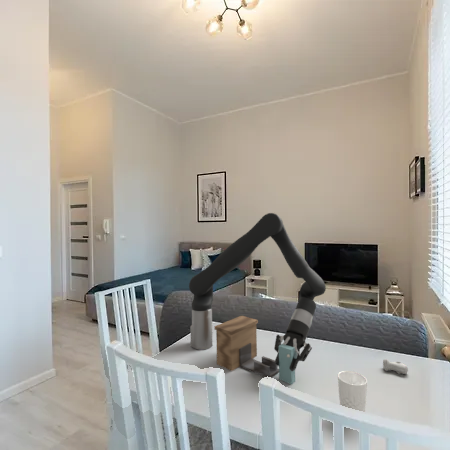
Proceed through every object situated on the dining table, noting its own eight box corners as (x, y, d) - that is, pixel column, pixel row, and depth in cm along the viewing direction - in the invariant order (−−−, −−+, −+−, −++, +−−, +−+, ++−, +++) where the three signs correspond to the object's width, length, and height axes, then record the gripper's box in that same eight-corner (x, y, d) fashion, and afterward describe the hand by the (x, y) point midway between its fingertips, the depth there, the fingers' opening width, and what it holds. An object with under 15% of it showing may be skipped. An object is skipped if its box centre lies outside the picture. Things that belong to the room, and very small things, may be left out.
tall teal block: (277, 380, 101) (277, 346, 101) (282, 376, 104) (282, 343, 104) (290, 385, 98) (289, 350, 98) (295, 381, 101) (294, 347, 100)
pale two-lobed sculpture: (407, 375, 106) (407, 377, 102) (383, 368, 110) (382, 370, 106) (408, 362, 107) (407, 364, 103) (383, 357, 111) (382, 358, 107)
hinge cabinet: (215, 364, 114) (214, 326, 113) (241, 349, 126) (241, 315, 126) (261, 385, 98) (260, 341, 98) (286, 366, 111) (286, 327, 111)
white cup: (365, 405, 87) (365, 373, 87) (369, 422, 79) (368, 387, 79) (337, 400, 89) (337, 369, 89) (338, 417, 82) (338, 382, 82)
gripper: (279, 314, 111) (262, 356, 103) (314, 323, 102) (299, 369, 93) (287, 324, 115) (271, 365, 107) (321, 333, 106) (306, 379, 97)
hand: (284, 367), depth 100 cm, fingers closed on tall teal block, 5 cm apart
